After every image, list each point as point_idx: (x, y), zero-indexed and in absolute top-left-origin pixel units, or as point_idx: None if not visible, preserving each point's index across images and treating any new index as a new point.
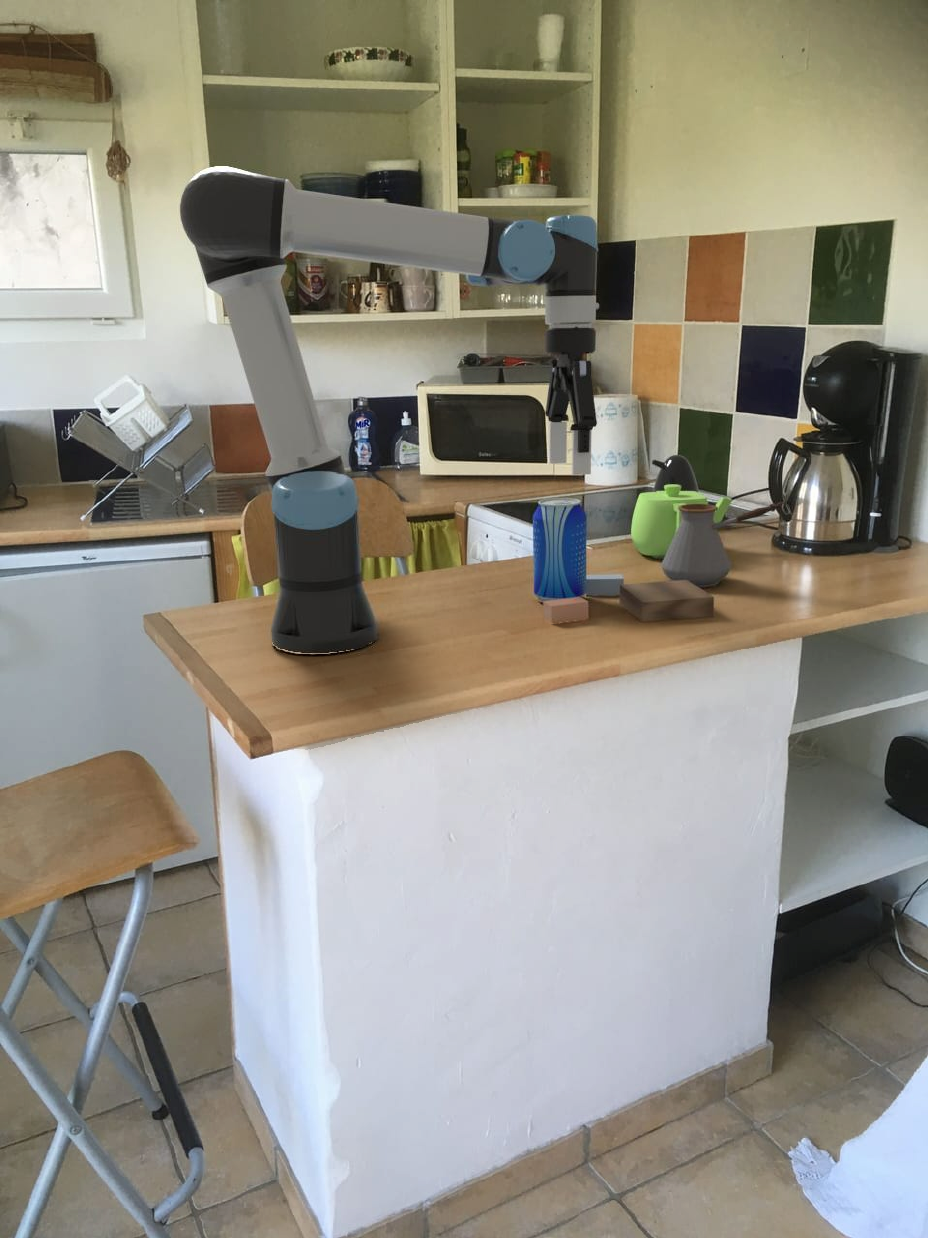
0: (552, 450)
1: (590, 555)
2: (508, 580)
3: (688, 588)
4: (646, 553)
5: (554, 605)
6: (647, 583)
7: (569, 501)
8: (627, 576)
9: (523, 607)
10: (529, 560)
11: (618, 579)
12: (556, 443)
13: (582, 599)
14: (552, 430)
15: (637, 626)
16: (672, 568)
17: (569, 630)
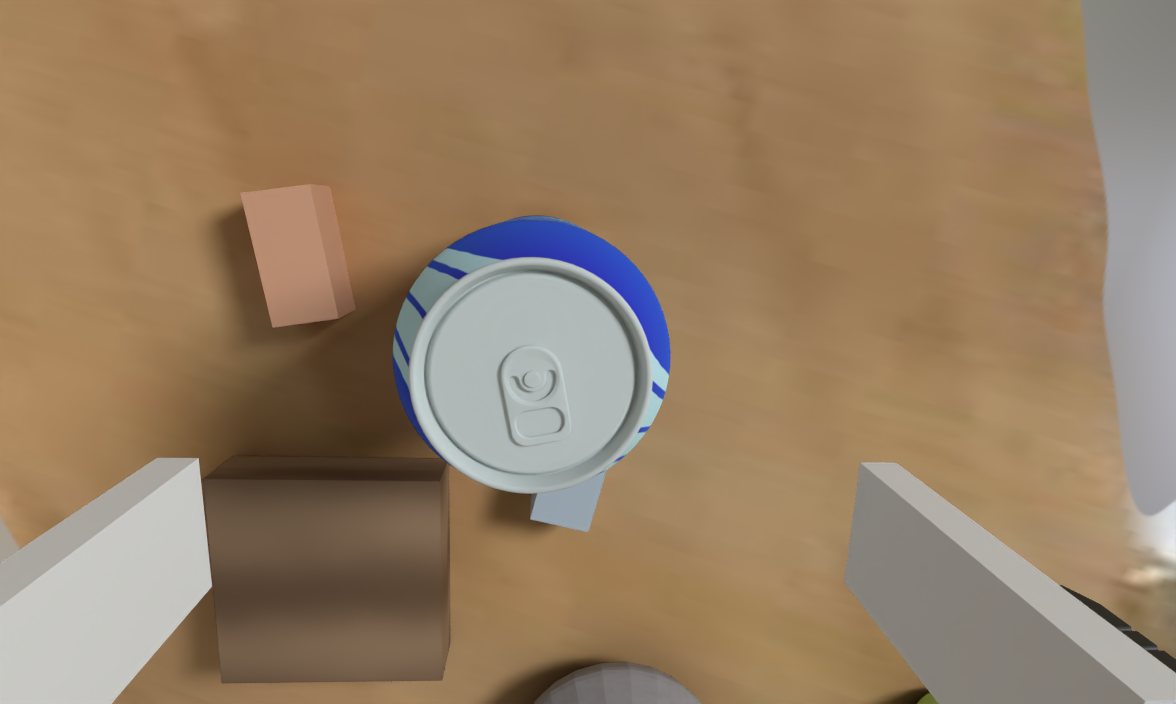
0: (913, 529)
1: (1046, 551)
2: (839, 204)
3: (337, 652)
4: (925, 699)
5: (247, 205)
6: (429, 563)
7: (548, 439)
8: (742, 573)
9: (484, 161)
10: (1075, 347)
11: (534, 503)
12: (945, 600)
13: (301, 317)
14: (1050, 650)
15: (193, 428)
16: (574, 686)
17: (190, 228)
